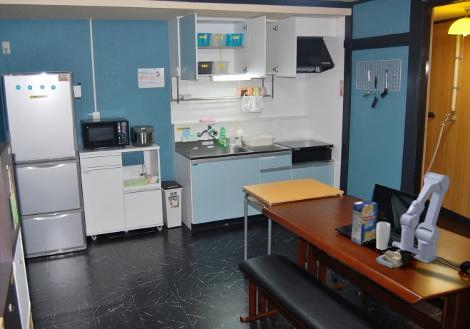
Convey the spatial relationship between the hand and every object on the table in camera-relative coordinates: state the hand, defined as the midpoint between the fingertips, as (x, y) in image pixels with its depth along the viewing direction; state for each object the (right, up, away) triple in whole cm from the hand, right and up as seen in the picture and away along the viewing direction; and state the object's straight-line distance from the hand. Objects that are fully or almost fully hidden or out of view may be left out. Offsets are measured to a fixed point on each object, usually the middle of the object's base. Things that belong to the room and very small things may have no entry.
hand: (405, 264), depth 218 cm
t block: (-3, 0, +5) cm, 6 cm away
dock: (-5, 0, +6) cm, 8 cm away
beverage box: (-12, +6, +30) cm, 33 cm away
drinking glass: (-6, +3, +17) cm, 19 cm away
